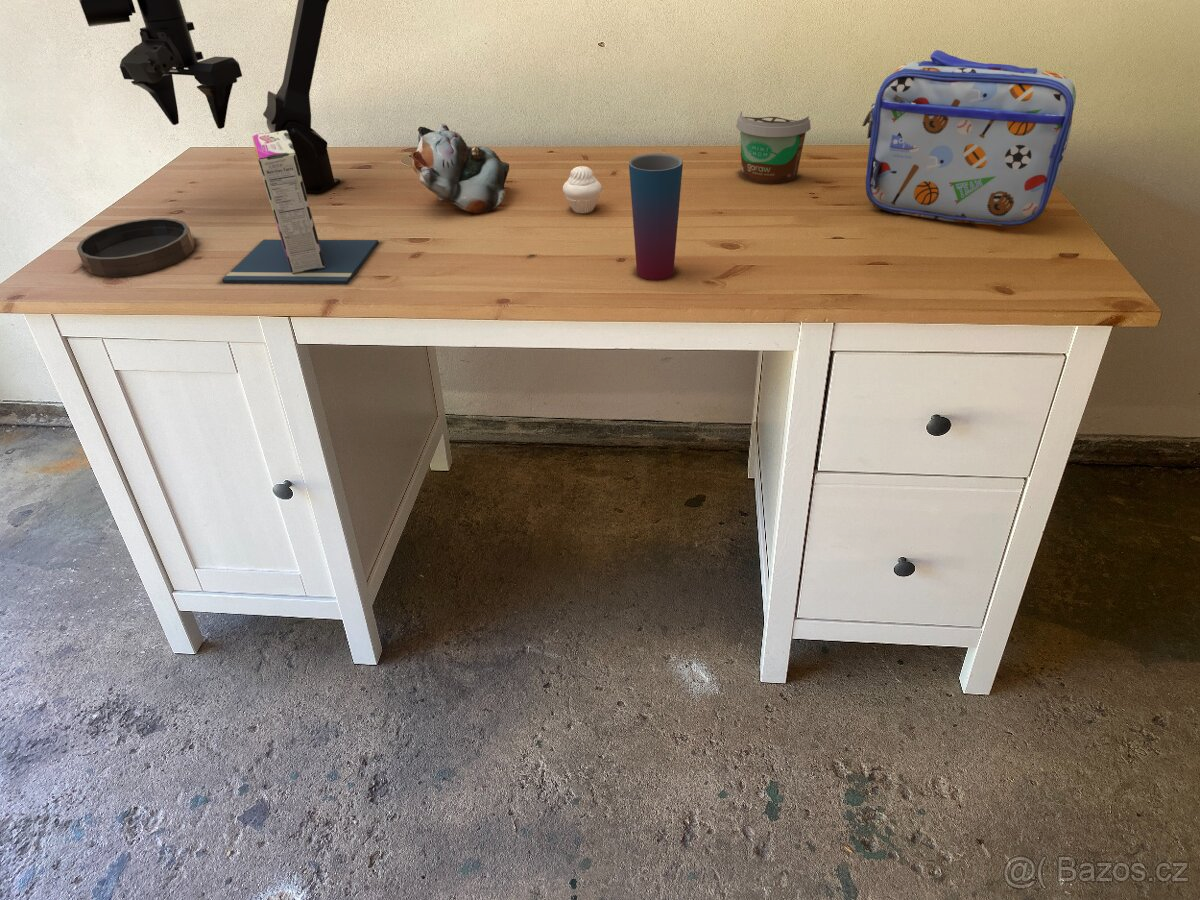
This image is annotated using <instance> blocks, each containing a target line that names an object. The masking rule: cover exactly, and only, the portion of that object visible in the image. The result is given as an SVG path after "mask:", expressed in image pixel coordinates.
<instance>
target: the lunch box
mask: <svg viewBox="0 0 1200 900" xmlns="http://www.w3.org/2000/svg"><path fill="white" fill-rule="evenodd" d="M929 58H930V60H922V61H911V62H907V63H904V64H902V65H900V66H898V67H897V68H896V69H895V70H894V72H892V73H891V74H890V75H887V77H886V78H885V79H884V80H883V82H882V84H881V85H880V87H879V89H878V92H877V95H876V97H875V102H874V103H871V106H870V110H869V111H868V112H867V114H866V115H865V118H864V120H863V122H862V124H861V127H866V126H867V124H868V128H867V135H866V139H869V140H870V141H869V147H868V157H867V164H866V175H865V193H866V196H867V198H868V200H869V202H870V203H872V205H873V206H875V207H876V208H878V209H880V210H882V211H886V212H889V213H892V214H895V215H897V214H900V215H901V214H902V215H906V216H911V217H919V218H926V219H932V220H938V221H942V222H943V221H944V222H951V223H952V222H953V223H966V224H979V225H994V226H998V227H1003V226H1004V227H1015V226H1023V225H1026V224H1030V223H1031V222H1034V221H1035V220H1036V219H1038V218H1039V217H1040V216H1041V215H1042V214H1043V212H1044V210H1045V209H1046V206H1047V204H1048V202H1049V199H1050V197H1051V196H1052V193H1053V191H1054V188H1055V186H1056V183H1057V181H1058V178H1059V174H1060V171H1061V167H1062V164H1063V161H1064V157H1065V153H1066V150H1067V147H1068V143H1069V139H1070V135H1071V132H1072V131H1071V129H1072V123H1073V116H1074V115H1073V114H1074V109H1075V105H1076V101H1077V92H1076V91H1077V90H1076V87H1075V84H1074V82H1073V81H1072V80H1071V79H1070V78H1068V77H1066V76H1065V75H1063V74H1060V73H1057V72H1052V71H1049V70H1046V69H1045V70H1044V69H1038V68H1037V67H1034V68H1033V67H1031V68H1029V67H1023V66H1022V67H1021V66H1016V65H1013V64H1005V63H1004V64H1003V63H983V62H978V61H972V60H968V59H964V58H960V57H957V56H954V55H951V54H950V53H949V54H948V53H947V52H945V51H943V50H939V49H935V50H934V51H933V52H932V53H931V54H930V57H929Z"/></svg>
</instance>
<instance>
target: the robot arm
mask: <svg viewBox="0 0 1200 900" xmlns="http://www.w3.org/2000/svg"><path fill="white" fill-rule="evenodd" d="M78 1H79V4H80V7H81V9H82V12H83V15H84V17H85V20H86V23H87V26H88V27H97V26H106V25H107V26H108V25H116V24H122V23H130V22H131V19H130V17H131V16H133V14H136V13H137V11H136V8H135V5H134V4H135V3H134V1H133V0H78ZM136 2H137V5H138V8H139V11H140V15H141V17H142V20H143V23H144V27H140V28H139V36H140V39H141V41H140V43H138V44H137V45H135V46H134V47H133V48H132V49H131V50H129V51H128V53H126V55H124V57H122V58H121V61H120V64H119V69H120V72H121V74H122V77H123V80H129V81H130V83H131V84H132V85H134V86H137V87H139V88H141V89H143V90H144V91H146V92H147V93H148V94H149V95H150V96H151V98H152V99H153V100H154V101H155V102H156V104H157V105H158V107H159V108H160V109H161V111H162V112H163V113H164V115H165V117H166V118H167V119H168V121H169V122H170V124H171V125H173V126H176V125H179V123H180V121H179V120H180V119H179V117H180V116H179V110H178V103H177V97H176V91H175V83H174V79H173V78H174V77H173V75H176V76H177V75H178V76H191V77H192V76H193V77H194V79H195V80H196V81H197V83H199V85H197V86H196V88H197V89H198V90H199V91H200V92H201V93H202V94H203V95H205V97H206V100H207V103H208V106H209V109H210V112H211V115H212V118H213V120H214V123H215V125H216V127H217V129H219V130H221V129H224V128H225V125H226V120H227V113H228V106H229V100H230V97H231V93H232V89H233V86H234V84H236V83H238V79H239V78H242V77H243V72H242V70H241V66H240V63H239V62H238V61H237V60H236V59H235V58H234V57H232V56H212V57H209V58H206V59H204V55H203V52H202V51H196V49H195V45H194V43H193V39H192V36H191V31H194V30H196V28H195V25H194V22H193V21H187V19H186V16H185V12H184V9H183V6H182V3H181V0H136ZM329 2H330V0H297V5H296V10H295V16H294V21H293V25H292V26H293V27H292V31H291V36H290V42H289V48H288V53H287V57H286V63H285V67H284V74H283V79H282V82H281V85H280V87H279V89H278V91H277V93H274V92H272V91H270V90H269V91H267V97H266V98H267V100H266V108H265V110H264V112H263V113H262V115H263V117H264V118H265V119H266V127H267V129H268V131H269V132H277V131H286V130H287V132H288V134H289V136H290V139H291V142H292V145H293V148H294V151H295V154H296V158H297V161H298V165H299V169H300V172H301V176H302V180H303V184H304V187H305V191H306V193H308V194H309V193H310V194H322V193H324V192H325V191H327V190H328V189H330V188H332V187H334V186H337V184H340V182H341V178H336V177H334V174H333V168H332V165H331V161H330V156H329V151H328V142H327V141H326V139H325V138H324V137H322V135H320V134H319V132H317V131H316V130H315V129H313V128H312V110H311V100H310V98H311V97H310V92H311V87H312V81H313V78H314V72H315V67H316V62H317V57H318V53H319V47H320V42H321V37H322V32H323V28H324V23H325V17H326V13H327V8H328V7H327V6H328V4H329ZM131 80H132V81H131Z"/></svg>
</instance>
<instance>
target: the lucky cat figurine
mask: <svg viewBox="0 0 1200 900" xmlns="http://www.w3.org/2000/svg"><path fill="white" fill-rule="evenodd" d="M417 132H418V137H417V138H418V139H417V141H418V142H417V148H416V151H411V153H410V158H411V159H412V168H413V171H414V172H415V173H416V174H417V175H418V177H419V181H420V182H421V184H422V185H423V186H424V187H426V189H427V190H429V191H430V192H432V193H433V194H434V195H436V197H437V199H438V201H445V202H447V203H450V204H453V205H455V206H457V207H458V208H460V209H461V210H464V211H465V212H468V213H470V214H474V215H476V214H481V213H486V212H491V211H493V210H494V209H495V208H496V207H498V206H500V204H501V203H502V201H503V200H504V198H505V196H506V195H505V193H506V190H505V184H506V181H507V178H508V174H509V171H510V163H509V162H506V161H502V160H501V159H500V156H498V154H497V153H496V152H495V151H494V150H492V149H491V148H489V147H486V146H476V145H475V146H472V147H471V146H468V144H467V143H466V141H465V139H463V137H462V135H461V134H460V133H458V132H457V131H454V130H450V128H449V127H448V125H447V124H446V123H441V124H439V125H438V128H437V129H436V130H432V129H430V128H428V127H425V126H419V127H418V128H417Z"/></svg>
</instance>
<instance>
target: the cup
mask: <svg viewBox="0 0 1200 900" xmlns="http://www.w3.org/2000/svg"><path fill="white" fill-rule="evenodd" d="M683 167H684V161H683V159H682V158H681V157H680V156H677V155H675V154H671V153H670V154H669V153H664V152H663V153H662V152H652V153H651V152H650V153H643V154H639V155H636V156H633V157H632V158H630V159H629V160H628V172H629V185H630V186H629V187H630V199H631V212H632V224H633V239H634V252H635V253H634V254H635V267H636V274H637V275H638V277H640V278H641V279H644V280H648V281H660V280H661V281H662V280H665V279H668V278H670V277H672V276H673V275H674V272H675V259H676V248H677V236H678V223H679V212H680V202H681V201H680V200H681V189H682V177H683Z"/></svg>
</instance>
